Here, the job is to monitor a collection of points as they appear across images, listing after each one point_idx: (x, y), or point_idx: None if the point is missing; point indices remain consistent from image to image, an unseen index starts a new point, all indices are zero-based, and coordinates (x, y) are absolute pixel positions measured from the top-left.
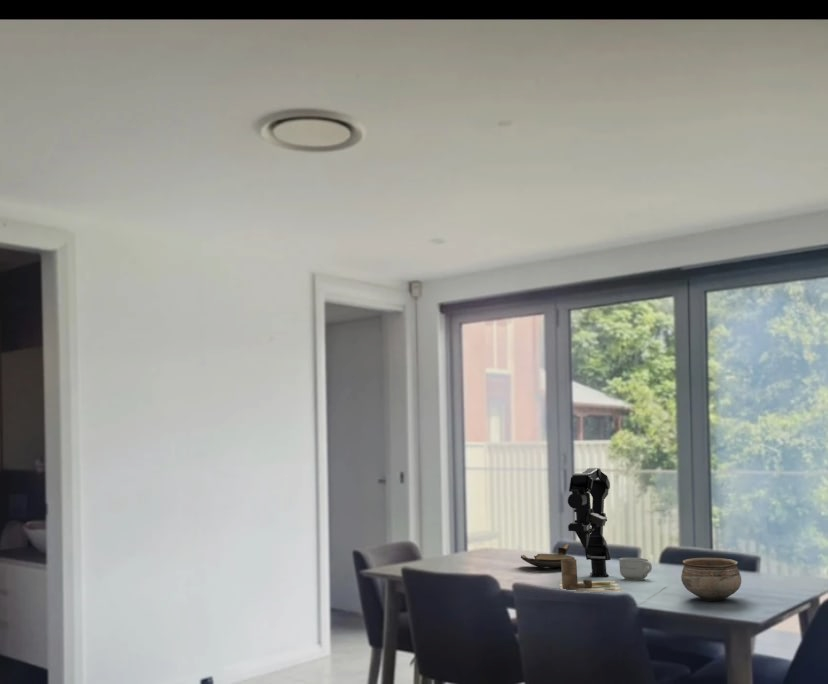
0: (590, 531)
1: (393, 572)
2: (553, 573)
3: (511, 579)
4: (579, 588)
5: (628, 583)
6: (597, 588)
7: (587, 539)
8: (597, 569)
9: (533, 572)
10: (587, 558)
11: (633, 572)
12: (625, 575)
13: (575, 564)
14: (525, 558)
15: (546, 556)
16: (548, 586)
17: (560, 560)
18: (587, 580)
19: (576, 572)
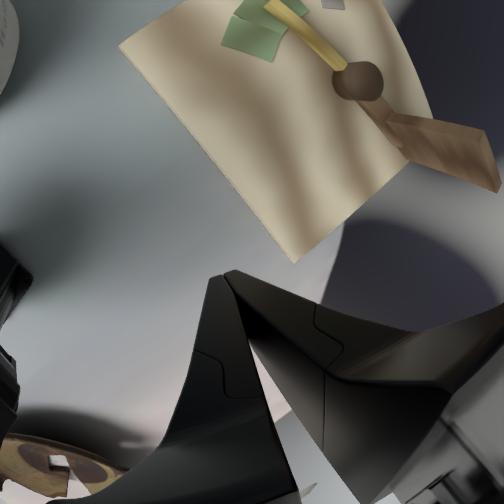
0: (277, 443)
1: (302, 490)
2: (105, 411)
3: (273, 408)
4: None
5: (71, 14)
6: (343, 37)
7: (274, 319)
8: (5, 272)
9: (142, 443)
10: (11, 360)
11: (10, 5)
12: (15, 55)
13: (464, 129)
14: None
15: (36, 485)
16: (330, 265)
17: (58, 446)
18: (372, 78)
19: (432, 120)
